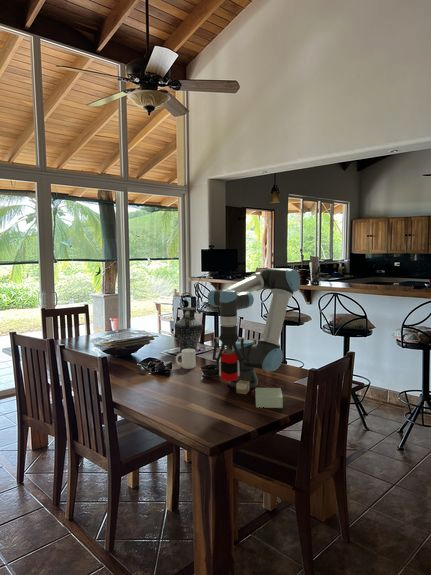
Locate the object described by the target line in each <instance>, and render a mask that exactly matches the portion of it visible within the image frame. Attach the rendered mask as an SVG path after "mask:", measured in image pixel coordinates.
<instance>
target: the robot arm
mask: <svg viewBox="0 0 431 575" xmlns="http://www.w3.org/2000/svg"><path fill="white" fill-rule="evenodd" d="M300 277H301V276H300V274H299V272H298V271H297V270H296V269H293V268H280V267H279V268H272V267H271V268H270V267H269V268H265V269H261V270H259V271H255V272H254V273H252V274H250V275H249V277H247V278H245V279H243V280H240V281H238V282H235V283H233V284H231V285H228V286H226V287H224V288H222V289H214V290H213V289H212V290H210V291H209V292H208V294H207V297H206V298H207V302H208V304H209V305H210V306H215V307H219V312H220V313H219V322H220V323H219V324H220V328H219V331H220V335H219V336H218V337H216V336H215V337H214V338H213V353H212V358H211V359H212V360H213V361H216V368H217V369H219V370H218V374H219V375H218V376H219V377H221V355H222V353H223V352H224V351H223V350H224V348H225V347H227V346H232V351H234V352H235V353H236V354H237V357H238V379H237V380H235V381H228V385H229V387H231V388H234V389H236V383H237V382H239V381H240V380H242V381H249V390H250V389H254V388H257V387H258V385H259V380H258V376H257V373H256V370H255V369H259V370H263V371H266V372H274V371H277V370H278V369H279V367H280V366H281V364H282V362H283V360H284V359H283V358H284V353H283V351H282V349H281V344H280V338H281V333H282V329H283V325H284V321H285V317H286V314H287V309H288V304H289V301H290V298H292V297H293V296H294V294H295V293H296V292H298V291H299V289H300V287H301V278H300ZM261 290H270V293H271V294H272V297H271V301H270V305H269V309H268V312H267V317H266V321H265V324H264V329H263V332H262V336H261V338H260V339H258V341H257V343H256V345H255V342H254V341H253V340H250V339H245V337H244V336H242V337H240V336H239V334H238V325H237V324H238V311H239V310H243V309H247V308H250V307H251V306H252V305H253V304H254V301H255V299H254V296H253V294H252V293H253V292H254V291H256V292H257V291H258V292H259V291H261ZM219 341H220V342H221V343H223V344H222V347H220V350H219V352H218V355H217V349H218V343H219Z"/></svg>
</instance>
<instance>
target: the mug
mask: <svg viewBox="0 0 431 575" xmlns="http://www.w3.org/2000/svg"><path fill="white" fill-rule="evenodd" d="M179 357H181V362H179ZM175 364H177V365H179V366H181V367H182V369H185V370H189V369H190V370H191V369H194V368H196V351H195V350H194V349H183V350H182V351H180V352H179V353H177V355H176V356H175Z"/></svg>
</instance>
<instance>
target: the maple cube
mask: <svg viewBox="0 0 431 575" xmlns="http://www.w3.org/2000/svg"><path fill="white" fill-rule="evenodd" d="M235 389H236V390H235V391H236V392H235V393H236V394H241V395H247V394H248V393H249V392H250V389H249V381H242V380H240V381H239V382H237V383H236V388H235Z"/></svg>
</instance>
